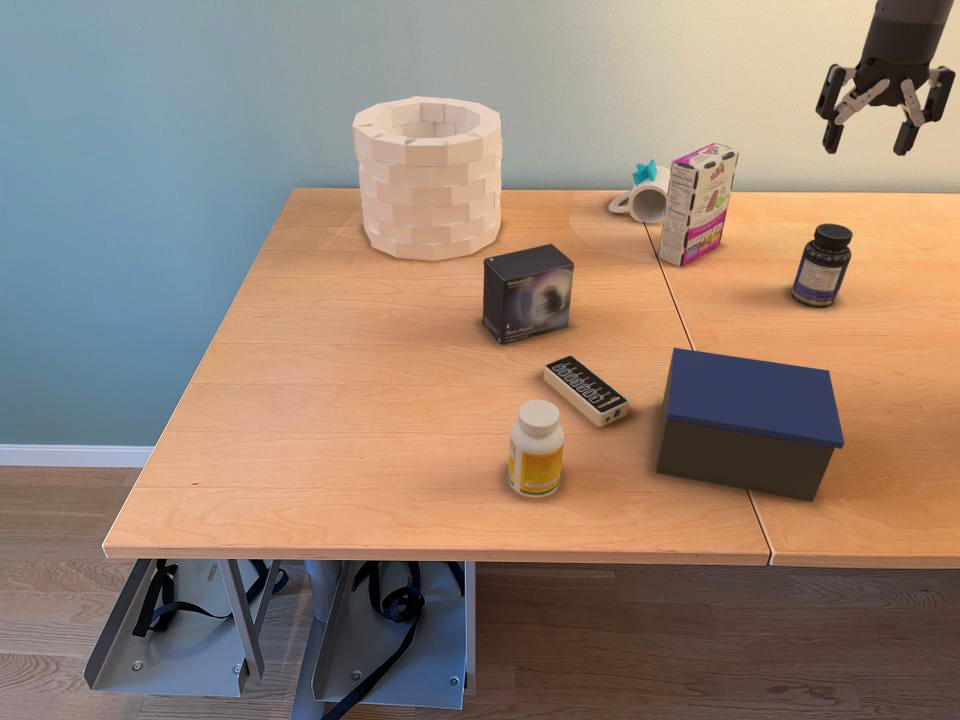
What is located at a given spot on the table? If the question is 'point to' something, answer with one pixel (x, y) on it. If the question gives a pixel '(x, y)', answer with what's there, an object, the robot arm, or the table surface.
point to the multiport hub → (586, 390)
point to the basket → (429, 176)
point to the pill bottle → (823, 266)
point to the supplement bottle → (536, 449)
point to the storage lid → (754, 397)
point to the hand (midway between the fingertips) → (864, 152)
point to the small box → (527, 293)
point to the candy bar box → (697, 203)
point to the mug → (645, 194)
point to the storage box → (739, 458)
